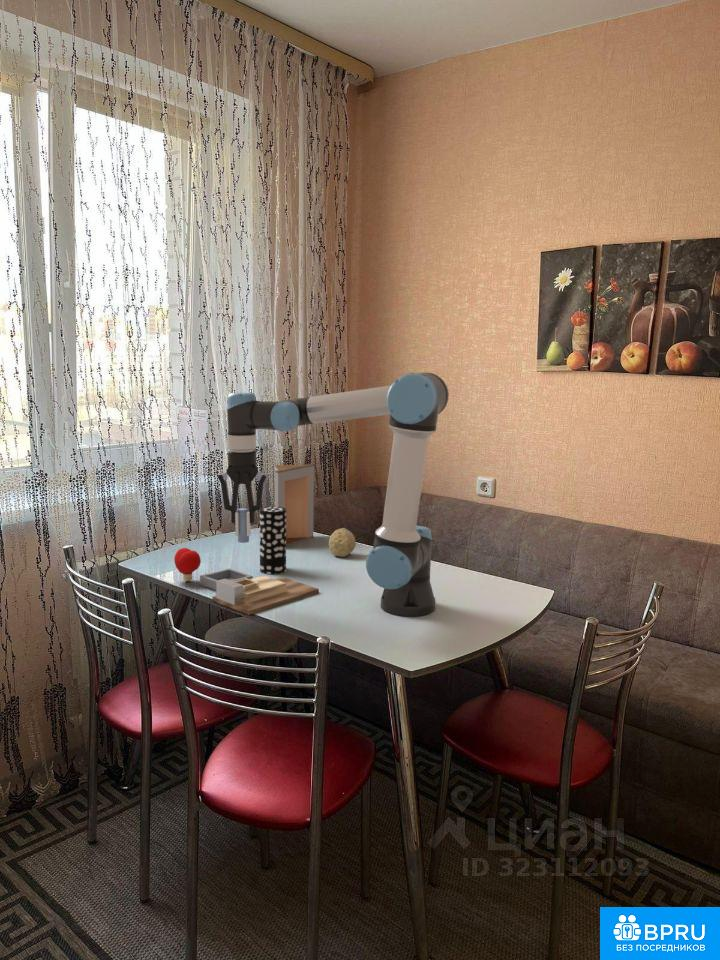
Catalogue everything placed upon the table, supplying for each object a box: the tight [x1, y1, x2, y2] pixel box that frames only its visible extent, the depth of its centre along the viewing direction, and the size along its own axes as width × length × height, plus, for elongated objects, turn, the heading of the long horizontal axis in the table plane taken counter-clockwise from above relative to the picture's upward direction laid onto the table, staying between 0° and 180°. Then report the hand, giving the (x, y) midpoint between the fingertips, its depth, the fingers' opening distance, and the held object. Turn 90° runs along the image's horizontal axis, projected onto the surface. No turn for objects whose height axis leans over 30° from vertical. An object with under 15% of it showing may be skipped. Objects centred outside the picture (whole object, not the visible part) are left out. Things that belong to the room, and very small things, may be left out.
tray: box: [199, 567, 254, 593], centre depth 217 cm, size 11×11×3 cm
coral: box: [328, 527, 357, 558], centre depth 251 cm, size 10×10×10 cm
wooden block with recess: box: [234, 575, 286, 603], centre depth 207 cm, size 10×14×4 cm
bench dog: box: [216, 579, 243, 605], centre depth 200 cm, size 8×3×5 cm, turn 48°
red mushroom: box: [174, 547, 201, 583], centre depth 219 cm, size 9×7×10 cm
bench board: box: [211, 576, 320, 616], centre depth 208 cm, size 16×26×1 cm, turn 138°
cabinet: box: [274, 463, 315, 547], centre depth 268 cm, size 21×10×28 cm, turn 147°
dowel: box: [237, 507, 250, 544], centre depth 201 cm, size 3×3×9 cm
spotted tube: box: [259, 506, 287, 575], centre depth 231 cm, size 8×8×20 cm
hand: (243, 534), depth 201 cm, fingers closed on dowel, 2 cm apart
